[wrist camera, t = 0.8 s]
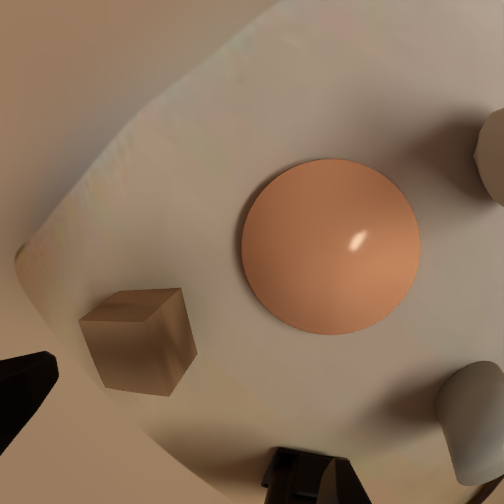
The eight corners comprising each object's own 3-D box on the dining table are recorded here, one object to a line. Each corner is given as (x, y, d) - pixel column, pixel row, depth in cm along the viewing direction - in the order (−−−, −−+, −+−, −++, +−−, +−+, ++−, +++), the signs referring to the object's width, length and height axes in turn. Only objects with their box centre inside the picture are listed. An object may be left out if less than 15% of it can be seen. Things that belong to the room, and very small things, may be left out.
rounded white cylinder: (477, 422, 19) (501, 482, 12) (422, 418, 20) (439, 487, 13) (514, 364, 17) (552, 421, 10) (458, 356, 18) (494, 423, 11)
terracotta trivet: (384, 342, 19) (386, 349, 18) (231, 305, 20) (228, 311, 19) (435, 186, 16) (440, 187, 15) (263, 141, 17) (260, 141, 16)
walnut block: (197, 352, 22) (169, 396, 17) (139, 350, 23) (105, 387, 18) (181, 287, 21) (143, 322, 16) (120, 290, 22) (78, 320, 17)
